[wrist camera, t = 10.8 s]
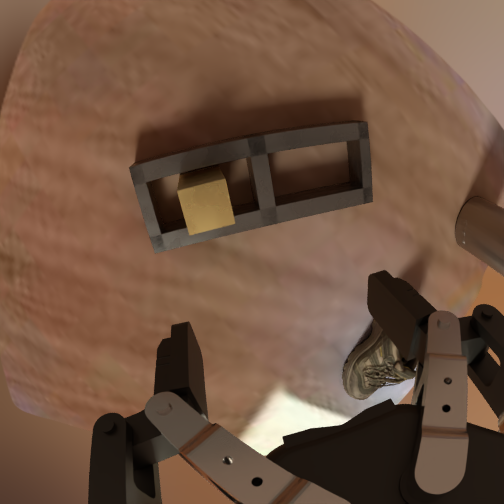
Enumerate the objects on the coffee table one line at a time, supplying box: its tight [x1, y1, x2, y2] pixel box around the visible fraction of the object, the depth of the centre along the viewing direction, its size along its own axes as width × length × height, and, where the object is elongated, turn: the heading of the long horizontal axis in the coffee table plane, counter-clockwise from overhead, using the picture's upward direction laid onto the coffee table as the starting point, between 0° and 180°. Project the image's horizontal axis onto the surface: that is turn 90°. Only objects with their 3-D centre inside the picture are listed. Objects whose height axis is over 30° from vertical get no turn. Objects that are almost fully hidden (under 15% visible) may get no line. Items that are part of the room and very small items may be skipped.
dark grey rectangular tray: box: [129, 120, 373, 253], centre depth 30 cm, size 24×9×3 cm, turn 100°
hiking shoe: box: [342, 319, 418, 400], centre depth 44 cm, size 9×21×12 cm, turn 167°
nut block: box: [177, 165, 235, 235], centre depth 28 cm, size 4×4×7 cm
